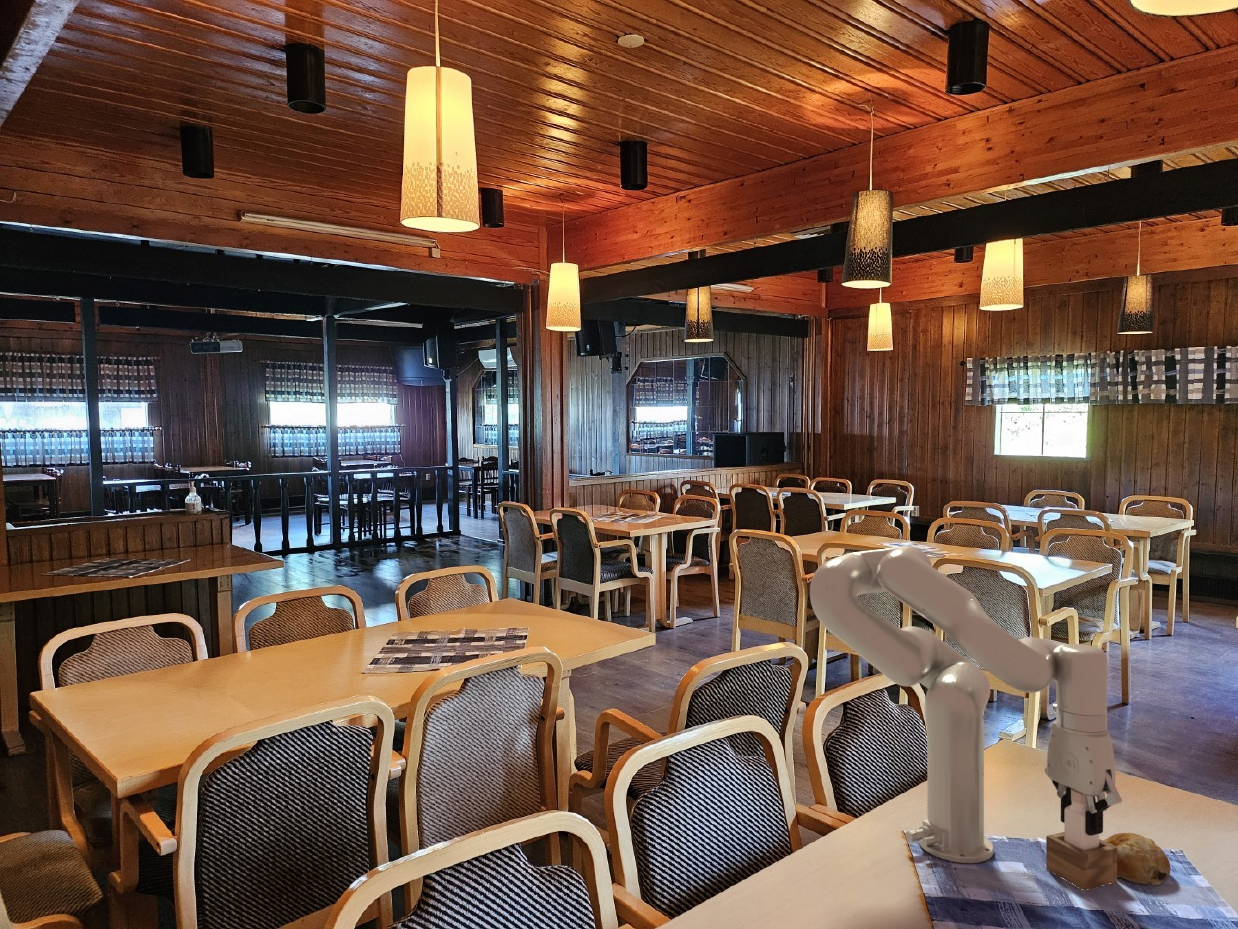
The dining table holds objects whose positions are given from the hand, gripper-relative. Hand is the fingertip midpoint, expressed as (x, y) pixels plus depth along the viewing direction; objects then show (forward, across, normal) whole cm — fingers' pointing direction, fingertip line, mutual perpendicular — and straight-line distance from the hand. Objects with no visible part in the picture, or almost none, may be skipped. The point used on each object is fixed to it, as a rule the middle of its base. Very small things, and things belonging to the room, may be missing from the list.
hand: (1081, 826), depth 140 cm
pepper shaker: (+4, 0, 0) cm, 4 cm away
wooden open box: (+9, 0, 0) cm, 9 cm away
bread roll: (+9, +2, +10) cm, 13 cm away
